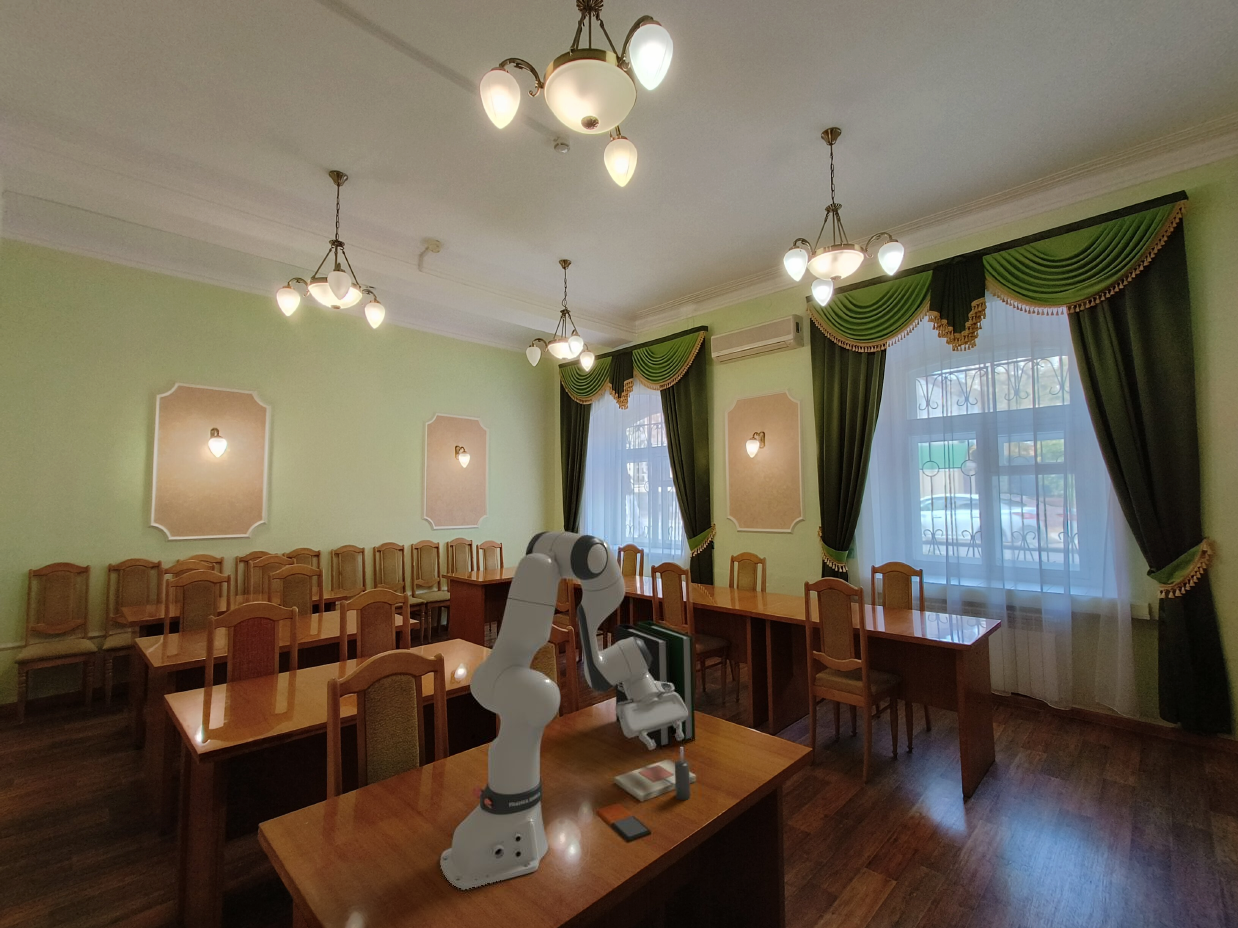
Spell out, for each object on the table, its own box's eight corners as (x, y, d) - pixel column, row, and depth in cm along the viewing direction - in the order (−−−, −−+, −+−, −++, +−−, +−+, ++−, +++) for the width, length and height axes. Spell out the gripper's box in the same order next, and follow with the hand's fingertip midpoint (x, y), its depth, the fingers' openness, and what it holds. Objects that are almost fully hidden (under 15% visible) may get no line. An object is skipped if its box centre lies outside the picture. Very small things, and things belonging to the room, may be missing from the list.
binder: (697, 740, 181) (694, 635, 183) (656, 750, 174) (654, 641, 176) (651, 712, 205) (649, 620, 207) (614, 721, 198) (612, 625, 200)
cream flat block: (641, 801, 145) (641, 794, 145) (614, 782, 155) (614, 776, 155) (696, 780, 155) (695, 774, 155) (667, 764, 165) (667, 758, 165)
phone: (618, 801, 144) (652, 830, 131) (618, 806, 144) (652, 836, 131) (595, 808, 140) (627, 839, 128) (595, 814, 140) (628, 845, 127)
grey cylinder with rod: (681, 801, 145) (680, 751, 145) (672, 795, 148) (671, 746, 148) (692, 796, 147) (691, 747, 147) (683, 791, 150) (682, 743, 150)
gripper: (617, 697, 154) (640, 747, 145) (677, 682, 165) (701, 728, 157) (608, 709, 157) (630, 759, 149) (667, 694, 169) (690, 739, 160)
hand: (667, 743), depth 153 cm, fingers open, 8 cm apart
